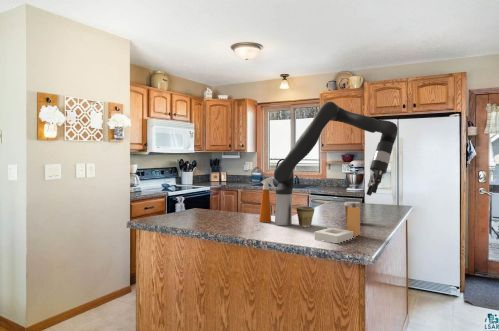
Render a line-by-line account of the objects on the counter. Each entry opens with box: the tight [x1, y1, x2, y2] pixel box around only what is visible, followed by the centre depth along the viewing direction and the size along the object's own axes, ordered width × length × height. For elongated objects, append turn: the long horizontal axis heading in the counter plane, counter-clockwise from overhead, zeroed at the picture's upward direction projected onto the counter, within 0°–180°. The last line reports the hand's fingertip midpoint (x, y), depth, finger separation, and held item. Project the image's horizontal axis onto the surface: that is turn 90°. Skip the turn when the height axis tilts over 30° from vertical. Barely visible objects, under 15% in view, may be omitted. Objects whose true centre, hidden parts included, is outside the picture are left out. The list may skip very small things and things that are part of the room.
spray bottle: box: [258, 176, 277, 223], centre depth 202 cm, size 7×11×26 cm, turn 57°
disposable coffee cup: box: [343, 200, 362, 222], centre depth 200 cm, size 10×10×12 cm
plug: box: [346, 203, 361, 237], centre depth 169 cm, size 4×4×16 cm
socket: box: [314, 226, 354, 244], centre depth 163 cm, size 14×12×4 cm
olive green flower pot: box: [295, 205, 316, 228], centre depth 194 cm, size 13×10×10 cm
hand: (370, 193), depth 164 cm, fingers open, 8 cm apart
